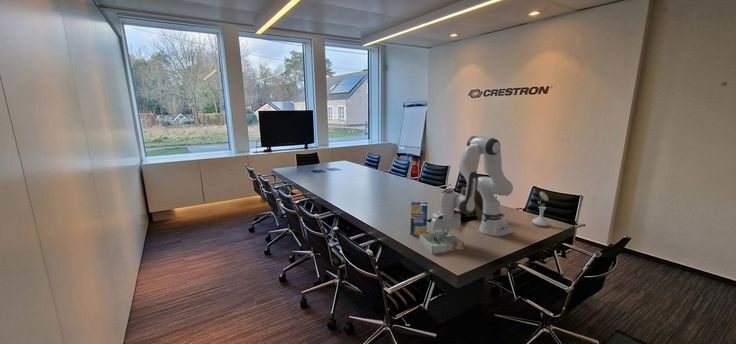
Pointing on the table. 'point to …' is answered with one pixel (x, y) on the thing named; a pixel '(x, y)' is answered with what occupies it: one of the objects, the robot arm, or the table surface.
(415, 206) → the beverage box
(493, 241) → the table surface
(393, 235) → the table surface
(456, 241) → the tile
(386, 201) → the table surface
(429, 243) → the tray
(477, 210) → the photo frame
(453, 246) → the beige shallow box
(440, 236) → the tile
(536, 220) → the flower in vase
